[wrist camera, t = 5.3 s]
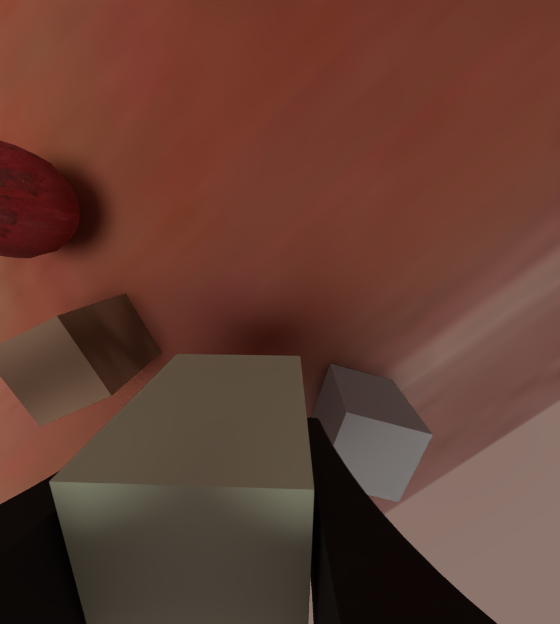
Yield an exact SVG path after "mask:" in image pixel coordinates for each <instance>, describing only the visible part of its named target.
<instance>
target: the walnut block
mask: <svg viewBox="0 0 560 624" xmlns="http://www.w3.org/2000/svg"><path fill="white" fill-rule="evenodd" d="M160 353H161V351H160V349H159V348H158V346H157V345H156V343H155V341H154V340H153V338H152V336H151V335H150V333H149V331H148V330H147V328H146V327H145V325H144V323H143V322H142V320H141V318H140V317H139V315H138V313H137V312H136V310H135V309H134V307H133V305H132V304H131V302H130V300H129V299H128V297H127V295H126V294H123V295H120V296H117V297H114V298H111V299H108V300H105V301H101V302H98V303H95V304H92V305H89V306H86V307H83V308H80V309H77V310H74V311H71V312H68V313H65V314H61V315H58V316H56V317H54V318H52V319H50V320H48V321H46V322H44V323H42V324H40V325H38V326H36V327H34V328H32V329H30V330H28V331H26V332H24V333H22V334H20V335H18V336H16V337H14V338H12V339H10V340H8V341H6V342H4V343H2V344H0V376H1V377H2V379H3V380H4V381H5V383H6V384H7V385H8V386H9V388H10V389H11V390H12V391H13V393H14V394H15V395H16V397H17V398H18V399H19V400H20V402H21V403H22V404H23V405H24V407H25V408H26V409H27V411H28V412H29V413H30V414H31V416H32V417H33V418H34V419H35V421H36V422H37V423H38V425H39V426H42V425H45V424H47V423H49V422H52V421H54V420H56V419H59V418H61V417H63V416H66V415H68V414H70V413H73V412H75V411H77V410H80V409H82V408H84V407H86V406H89V405H91V404H93V403H96V402H98V401H100V400H103V399H105V398H107V397H110V396H112V395H113V394H114V393H115V392H116V391H117V390H119V389H120V388H121V387H122V386H123V385H124V384H125V383H127V382H128V381H129V380H130V379H131V378H132V377H133V376H135V375H136V374H137V373H138V372H139V371H140V370H141V369H143V368H144V367H145V366H146V365H147V364H148V363H149V362H151V361H152V360H153V359H154V358H155V357H156V356H157V355H158V354H160Z"/></svg>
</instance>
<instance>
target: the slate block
mask: <svg viewBox="0 0 560 624" xmlns="http://www.w3.org/2000/svg"><path fill="white" fill-rule="evenodd" d="M311 418H318V419H319V420H320V422H321V424H322V426H323V428H324V430H325V432H326V434H327V436H328V437H329V439H330V441H331V443H332V444H333V446H334V448H335V449H336V451H337V453H338V454H339V456H340V457H341V459H342V460H343V462H344V463H345V465H346V466H347V468H348V469H349V471H350V472H351V474H352V475H353V476H354V478H355V479H356V480H357V482H358V483H359V484H360V486H361V487H362V488H363V490H364V491H365V492H366V494H367V495H371V496H375V497H379V498H383V499H387V500H391V501H395V502H399V500H400V499H401V497H402V495H403V493H404V491H405V489H406V487H407V485H408V483H409V481H410V479H411V477H412V475H413V473H414V471H415V469H416V467H417V465H418V463H419V461H420V459H421V457H422V455H423V453H424V451H425V449H426V447H427V445H428V443H429V441H430V439H431V437H432V436H433V434H432V433H431V432H430V430H429V429H428V427H427V426H426V425H425V423H424V422H423V421H422V419H421V418H420V417H419V415H418V414H417V413H416V411H415V410H414V409H413V407H412V406H411V405H410V403H409V402H408V401H407V399H406V398H405V396H404V395H403V394H402V392H401V391H400V390H399V388H398V387H397V386H396V384H395V383H394V382H393V380H390V379H386V378H382V377H379V376H375V375H371V374H367V373H364V372H360V371H356V370H352V369H349V368H345V367H341V366H337V365H334V364H330V365H329V368H328V371H327V374H326V376H325V379H324V382H323V385H322V388H321V390H320V393H319V396H318V399H317V402H316V405H315V407H314V410H313V413H312V416H311Z"/></svg>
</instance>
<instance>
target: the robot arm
mask: <svg viewBox="0 0 560 624" xmlns="http://www.w3.org/2000/svg"><path fill="white" fill-rule="evenodd" d="M307 424H308V434H309V444H310V453H311V463H312V472H313V482H314V508H313V530H312V552H311V574H310V577H311V587H312V602H313V618H314V619H313V620H314V624H497V623H496V622H495V621H493V620H492V619H491V618H490V617H489V616H487V615H486V614H485V613H484V612H483V611H482V610H480V609H479V608H478V607H477V606H476V605H474V604H473V603H472V602H471V601H470V600H469V599H467V598H466V597H465V596H464V595H463V594H462V593H461V592H460V591H459V590H458V589H456V588H455V587H454V586H453V585H452V584H451V583H450V582H449V581H448V580H447V579H446V578H444V577H443V576H442V575H441V574H440V573H439V572H438V571H437V570H436V569H435V568H434V567H433V566H432V565H431V564H430V563H429V562H428V561H427V560H426V559H425V558H424V557H423V556H422V555H421V554H420V553H419V552H418V551H417V550H416V549H415V548H414V547H413V546H412V545H411V544H410V543H409V542H408V541H407V540H406V539H405V538H404V537H403V535H402V534H401V533H400V532H399V531H398V530H397V529H396V528H395V527H394V526H393V524H392V523H391V522H390V521H389V520H388V519H387V518H386V517H385V515H384V514H383V513H382V512H381V511H380V510H379V508H378V507H377V506H376V505H375V504H374V502H373V501H372V500H371V499H370V497H369V496H368V495H367V494H366V492H365V491H364V490H363V488H362V487H361V486H360V484H359V483H358V482H357V480H356V479H355V478H354V476H353V475H352V474H351V472H350V471H349V469H348V468H347V466H346V465H345V463H344V462H343V460H342V459H341V457H340V456H339V454H338V453H337V451H336V449H335V448H334V446H333V444H332V443H331V441H330V439H329V437H328V436H327V434H326V432H325V430H324V428H323V426H322V424H321V422H320V420H319V419H318V418H307ZM58 472H59V471H58ZM58 472H57V473H58ZM57 473H55V474H54V475H52V476H50V477H48V478H47V479H45V480H43V481H42V482H40V483H38V484H36V485H35V486H33V487H31V488H29V489H28V490H26V491H24V492H22V493H20V494H18V495H17V496H15V497H13V498H11V499H9V500H7V501H6V502H4V503H2V504H0V624H86V620H85V616H84V612H83V609H82V605H81V601H80V597H79V593H78V590H77V586H76V582H75V578H74V574H73V571H72V567H71V563H70V559H69V555H68V552H67V548H66V544H65V540H64V537H63V533H62V529H61V525H60V521H59V518H58V514H57V510H56V506H55V502H54V499H53V495H52V491H51V487H50V483H49V481H50V480H51V479H52V478H53V477H54V476H55V475H56V474H57Z"/></svg>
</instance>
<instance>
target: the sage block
mask: <svg viewBox="0 0 560 624" xmlns="http://www.w3.org/2000/svg"><path fill="white" fill-rule="evenodd" d="M49 483H50V487H51V491H52V495H53V499H54V502H55V506H56V510H57V514H58V518H59V521H60V525H61V529H62V533H63V537H64V540H65V544H66V548H67V552H68V555H69V559H70V563H71V567H72V571H73V574H74V578H75V582H76V586H77V590H78V593H79V597H80V601H81V605H82V609H83V612H84V616H85V620H86V624H308V619H309V596H310V574H311V552H312V530H313V508H314V482H313V472H312V463H311V453H310V444H309V434H308V424H307V415H306V405H305V396H304V386H303V377H302V367H301V358H300V356H278V355H216V354H176V355H175V356H174V357H173V358H172V359H171V360H170V361H169V362H168V363H167V364H166V365H165V366H164V367H163V368H162V369H161V370H160V371H159V372H158V373H157V374H156V375H155V376H154V377H153V378H152V379H151V380H150V381H149V382H148V383H147V384H146V385H145V386H144V387H143V388H142V389H141V390H140V391H139V392H138V393H137V394H136V395H135V396H134V397H133V398H132V399H131V400H130V401H129V402H128V403H127V404H126V405H125V406H124V407H123V408H122V409H121V410H120V411H119V412H118V413H117V414H116V415H115V416H114V417H113V418H112V419H111V420H110V421H109V422H108V423H107V424H106V425H105V426H104V427H103V428H102V429H101V430H100V431H99V432H98V433H97V434H96V435H95V436H94V437H93V438H92V439H91V440H90V441H89V442H88V443H87V444H86V445H85V446H84V447H83V448H82V449H81V450H80V451H79V452H78V453H77V454H76V455H75V456H74V457H73V458H72V459H71V460H70V461H69V462H68V463H67V464H66V465H65V466H64V467H63V468H62V469H61V470H60V471H59V472H58V473H57V474H56V475H55V476H54V477H53V478H52V479H51V480H50V481H49Z"/></svg>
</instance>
